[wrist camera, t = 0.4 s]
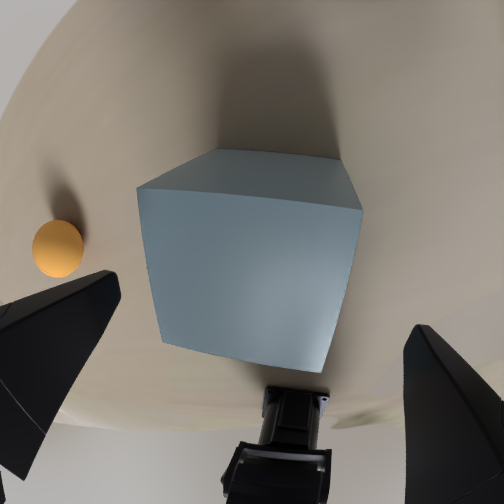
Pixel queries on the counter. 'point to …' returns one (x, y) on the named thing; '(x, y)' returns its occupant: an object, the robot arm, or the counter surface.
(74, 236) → the ball
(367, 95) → the counter surface
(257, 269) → the pale blue-grey cube
